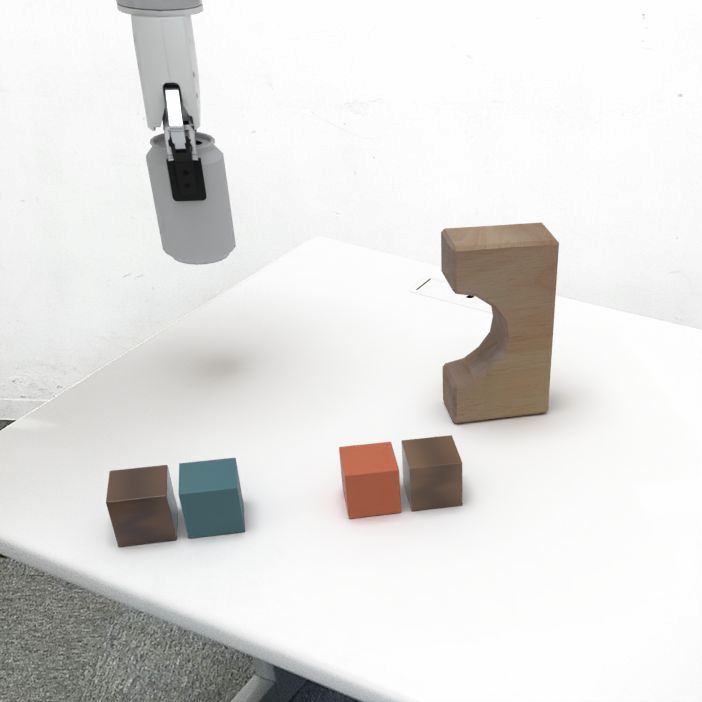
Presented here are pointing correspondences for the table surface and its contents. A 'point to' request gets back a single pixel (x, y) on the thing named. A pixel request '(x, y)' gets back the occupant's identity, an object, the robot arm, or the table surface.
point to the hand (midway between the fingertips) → (189, 185)
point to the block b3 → (370, 479)
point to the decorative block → (503, 319)
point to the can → (193, 206)
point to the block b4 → (432, 472)
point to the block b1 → (142, 505)
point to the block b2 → (211, 497)
